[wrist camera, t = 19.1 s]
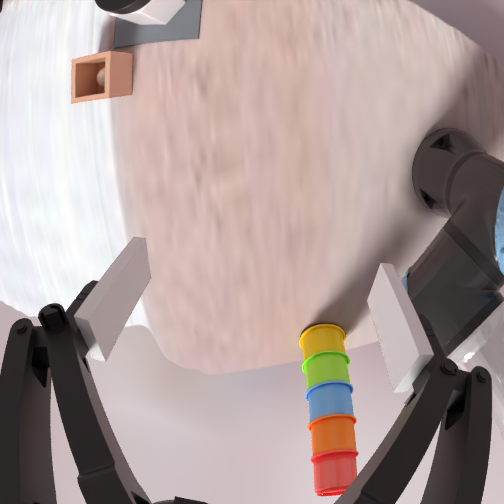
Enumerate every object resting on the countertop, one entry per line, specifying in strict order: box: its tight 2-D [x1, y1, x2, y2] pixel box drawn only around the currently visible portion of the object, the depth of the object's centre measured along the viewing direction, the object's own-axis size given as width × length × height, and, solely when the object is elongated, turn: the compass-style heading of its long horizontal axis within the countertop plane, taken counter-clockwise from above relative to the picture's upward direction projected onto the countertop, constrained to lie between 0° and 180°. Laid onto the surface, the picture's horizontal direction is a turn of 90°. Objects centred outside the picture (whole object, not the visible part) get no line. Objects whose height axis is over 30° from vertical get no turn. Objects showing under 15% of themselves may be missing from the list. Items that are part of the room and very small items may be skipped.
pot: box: [71, 51, 133, 104], centre depth 34 cm, size 7×7×7 cm
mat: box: [114, 0, 202, 48], centre depth 30 cm, size 14×14×1 cm
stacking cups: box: [299, 324, 358, 496], centre depth 47 cm, size 10×10×35 cm
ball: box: [97, 68, 105, 86], centre depth 35 cm, size 3×3×3 cm
